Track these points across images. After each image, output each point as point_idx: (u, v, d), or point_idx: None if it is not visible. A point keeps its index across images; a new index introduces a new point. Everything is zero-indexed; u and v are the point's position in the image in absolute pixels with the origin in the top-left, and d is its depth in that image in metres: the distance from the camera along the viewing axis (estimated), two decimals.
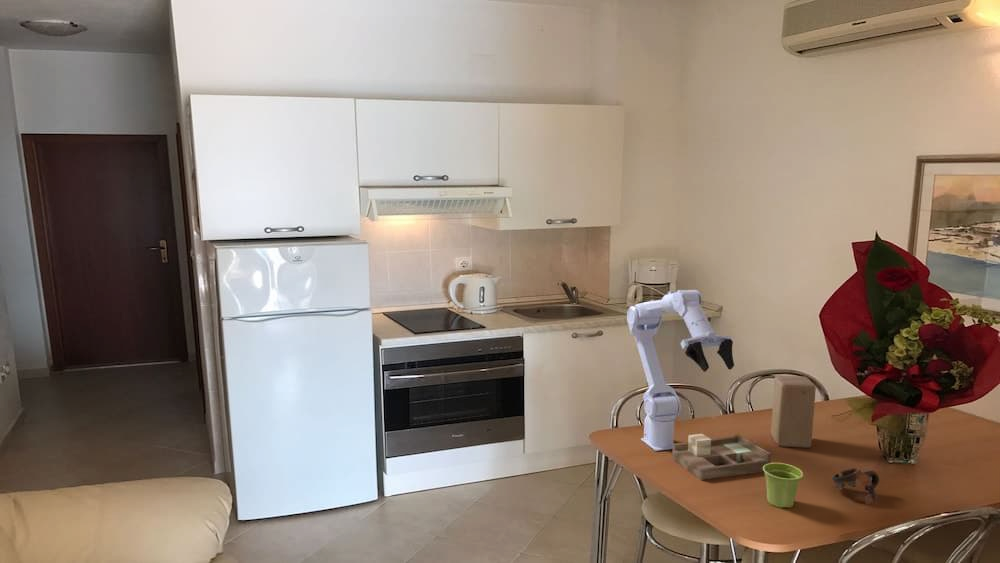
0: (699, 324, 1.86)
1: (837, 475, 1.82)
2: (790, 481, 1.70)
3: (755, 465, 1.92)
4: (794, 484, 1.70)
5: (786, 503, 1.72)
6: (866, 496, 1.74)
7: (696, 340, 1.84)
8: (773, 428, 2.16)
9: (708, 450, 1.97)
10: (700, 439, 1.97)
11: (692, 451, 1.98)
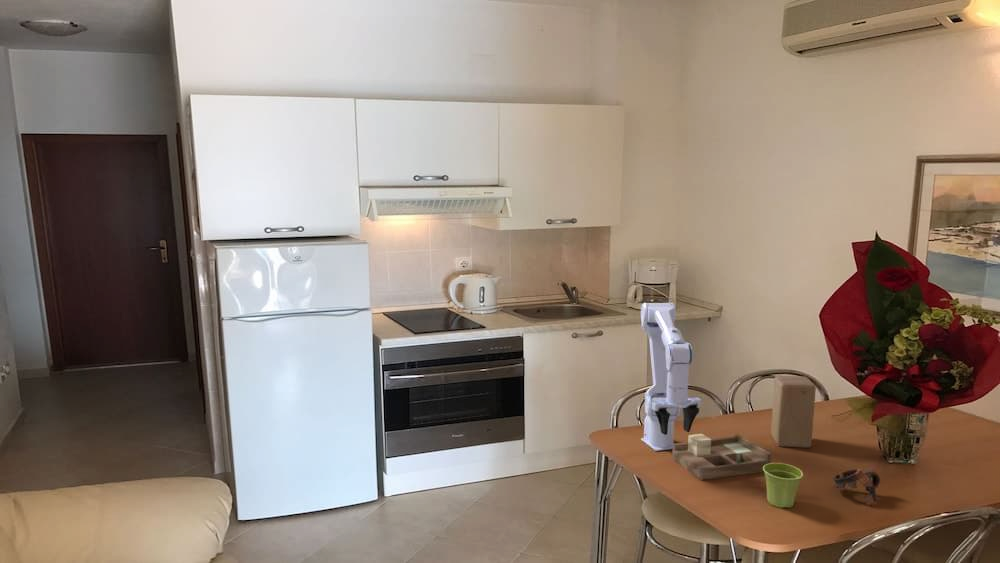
0: (677, 392, 1.91)
1: (838, 476, 1.81)
2: (790, 481, 1.70)
3: (755, 465, 1.92)
4: (794, 484, 1.70)
5: (786, 503, 1.72)
6: (867, 497, 1.74)
7: None
8: (773, 428, 2.16)
9: (708, 450, 1.97)
10: (700, 439, 1.97)
11: (692, 451, 1.98)
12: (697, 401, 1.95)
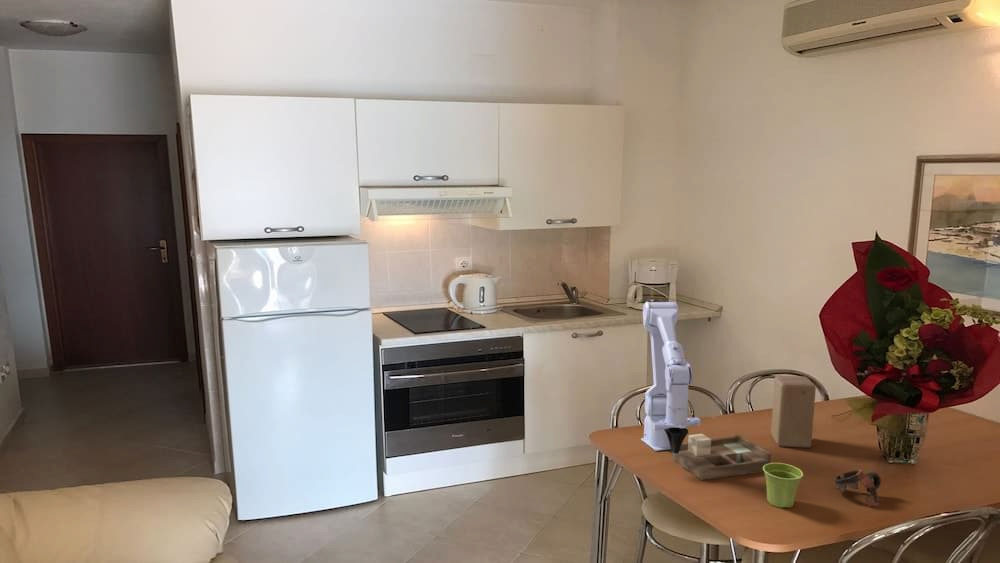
0: (676, 413, 1.92)
1: (839, 477, 1.81)
2: (790, 481, 1.70)
3: (755, 465, 1.92)
4: (794, 484, 1.70)
5: (786, 503, 1.72)
6: (868, 498, 1.73)
7: None
8: (773, 428, 2.16)
9: (708, 450, 1.97)
10: (700, 439, 1.97)
11: (692, 451, 1.98)
12: (696, 421, 1.96)
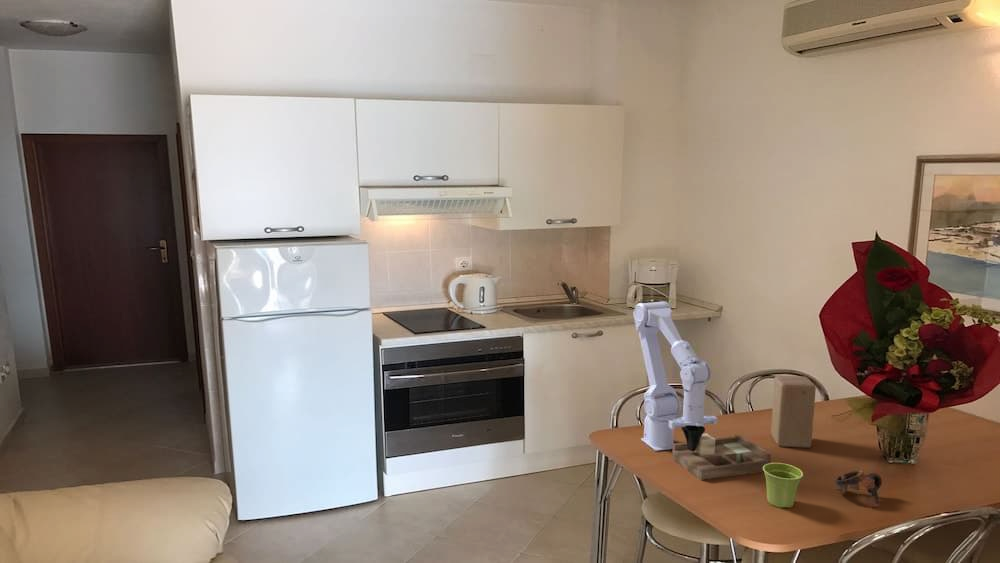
0: (694, 411, 1.93)
1: (840, 478, 1.80)
2: (790, 481, 1.70)
3: (755, 465, 1.92)
4: (794, 484, 1.70)
5: (786, 503, 1.72)
6: (870, 499, 1.73)
7: None
8: (773, 428, 2.16)
9: (712, 450, 1.97)
10: (704, 439, 1.97)
11: (696, 450, 1.98)
12: (713, 419, 1.97)
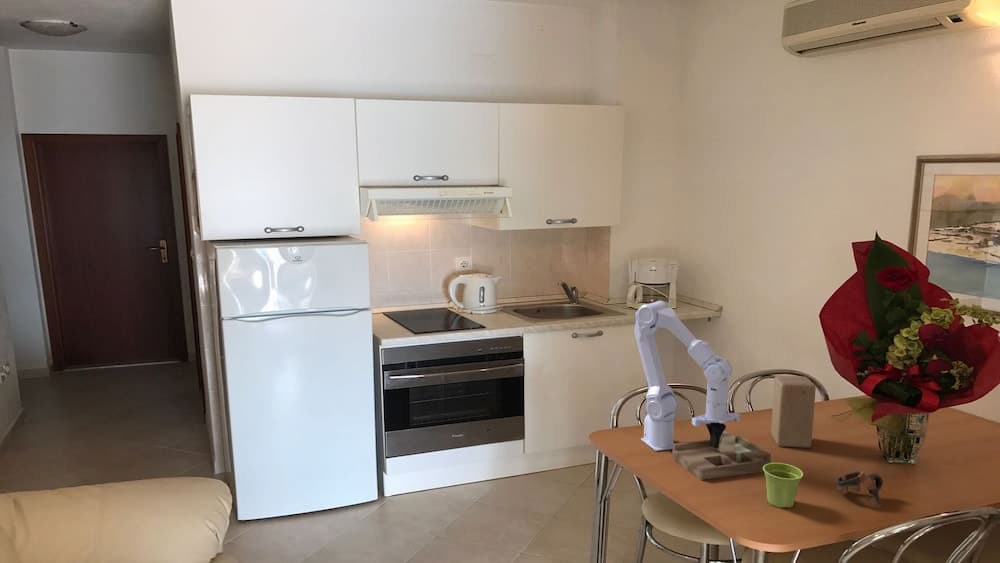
0: (717, 408, 1.96)
1: (840, 478, 1.80)
2: (790, 481, 1.70)
3: (755, 465, 1.92)
4: (794, 484, 1.70)
5: (786, 503, 1.72)
6: (871, 500, 1.72)
7: None
8: (773, 428, 2.16)
9: (732, 447, 1.99)
10: (724, 436, 1.99)
11: (716, 448, 2.00)
12: (736, 416, 1.99)
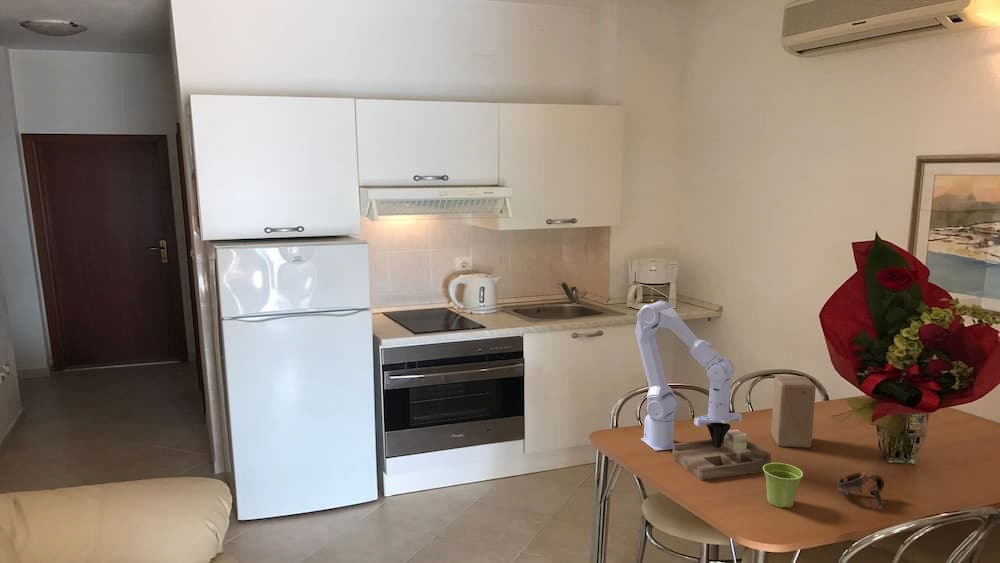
0: (719, 408, 1.96)
1: (842, 480, 1.79)
2: (790, 481, 1.70)
3: (755, 465, 1.92)
4: (794, 484, 1.70)
5: (786, 503, 1.72)
6: (873, 501, 1.72)
7: None
8: (773, 428, 2.16)
9: (744, 445, 2.01)
10: (736, 435, 2.00)
11: (728, 446, 2.02)
12: (738, 416, 2.00)
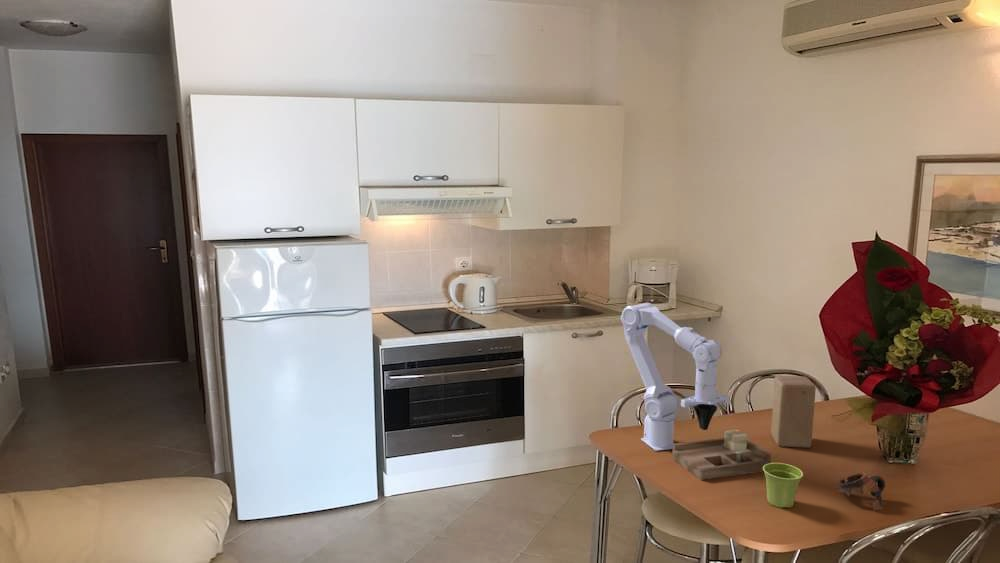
0: (706, 389, 1.95)
1: (843, 481, 1.79)
2: (790, 481, 1.70)
3: (755, 465, 1.92)
4: (794, 484, 1.70)
5: (786, 503, 1.72)
6: (874, 502, 1.71)
7: None
8: (773, 428, 2.16)
9: (744, 445, 2.01)
10: (736, 435, 2.00)
11: (728, 446, 2.02)
12: (725, 398, 1.99)
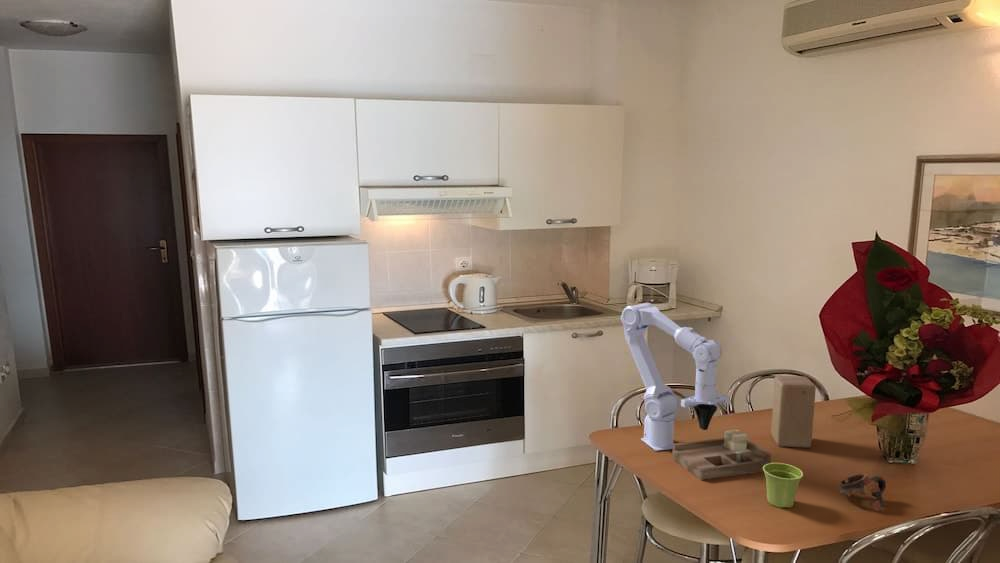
0: (706, 389, 1.95)
1: (843, 481, 1.78)
2: (790, 481, 1.70)
3: (755, 465, 1.92)
4: (794, 484, 1.70)
5: (786, 503, 1.72)
6: (875, 503, 1.71)
7: None
8: (773, 428, 2.16)
9: (744, 445, 2.01)
10: (736, 435, 2.00)
11: (728, 446, 2.02)
12: (725, 398, 1.99)
